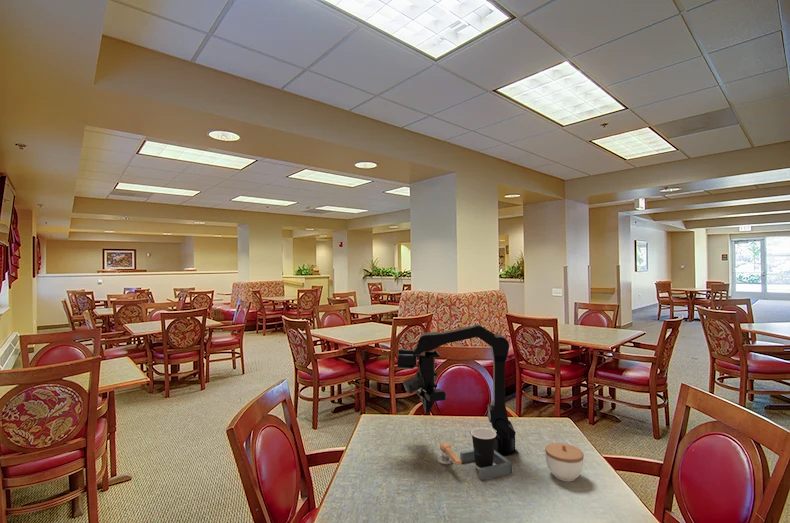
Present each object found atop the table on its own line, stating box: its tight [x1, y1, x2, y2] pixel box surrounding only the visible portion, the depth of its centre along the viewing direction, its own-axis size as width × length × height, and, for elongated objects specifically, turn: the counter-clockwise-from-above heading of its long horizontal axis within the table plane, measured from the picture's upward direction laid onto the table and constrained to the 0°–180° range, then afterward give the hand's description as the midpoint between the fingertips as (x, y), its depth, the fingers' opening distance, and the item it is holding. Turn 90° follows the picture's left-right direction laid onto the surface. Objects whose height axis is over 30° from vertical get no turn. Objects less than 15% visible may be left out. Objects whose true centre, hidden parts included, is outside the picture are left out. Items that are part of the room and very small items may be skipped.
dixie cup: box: [470, 427, 497, 471], centre depth 125 cm, size 8×8×11 cm
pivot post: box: [437, 450, 454, 466], centre depth 129 cm, size 5×5×4 cm
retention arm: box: [439, 442, 462, 466], centre depth 124 cm, size 13×4×1 cm, turn 14°
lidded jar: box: [544, 442, 584, 483], centre depth 119 cm, size 11×11×9 cm
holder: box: [459, 448, 513, 481], centre depth 125 cm, size 11×12×3 cm
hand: (427, 413), depth 139 cm, fingers closed
